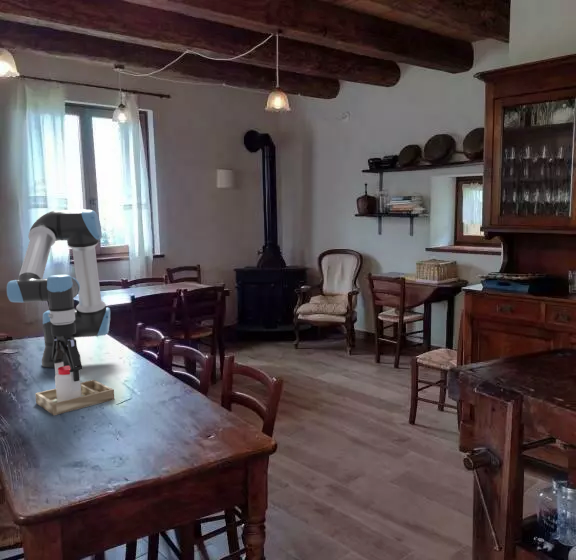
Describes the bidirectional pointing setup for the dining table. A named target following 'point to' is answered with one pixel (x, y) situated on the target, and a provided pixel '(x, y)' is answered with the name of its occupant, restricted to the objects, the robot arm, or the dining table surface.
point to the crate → (90, 392)
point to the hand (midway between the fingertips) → (68, 386)
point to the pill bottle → (65, 385)
